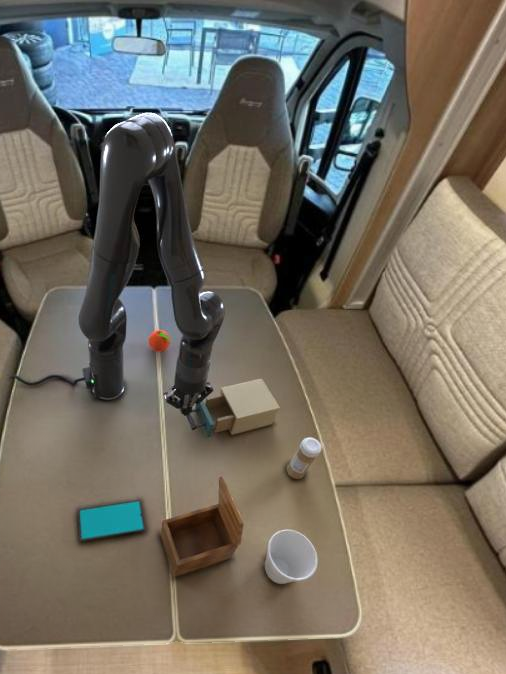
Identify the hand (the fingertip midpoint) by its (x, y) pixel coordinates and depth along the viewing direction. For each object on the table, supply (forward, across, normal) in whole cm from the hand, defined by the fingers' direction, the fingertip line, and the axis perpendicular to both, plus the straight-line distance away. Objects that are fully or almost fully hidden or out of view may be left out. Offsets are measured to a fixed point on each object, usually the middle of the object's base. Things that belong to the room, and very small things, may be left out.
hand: (185, 412), depth 108 cm
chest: (+9, +8, +30) cm, 32 cm away
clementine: (+9, -4, -31) cm, 33 cm away
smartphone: (+9, +25, +19) cm, 32 cm away
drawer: (+8, -9, 0) cm, 12 cm away
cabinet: (+9, -19, 0) cm, 21 cm away
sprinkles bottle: (+9, -24, +20) cm, 32 cm away
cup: (+9, -8, +40) cm, 42 cm away
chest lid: (-7, +3, +30) cm, 31 cm away
